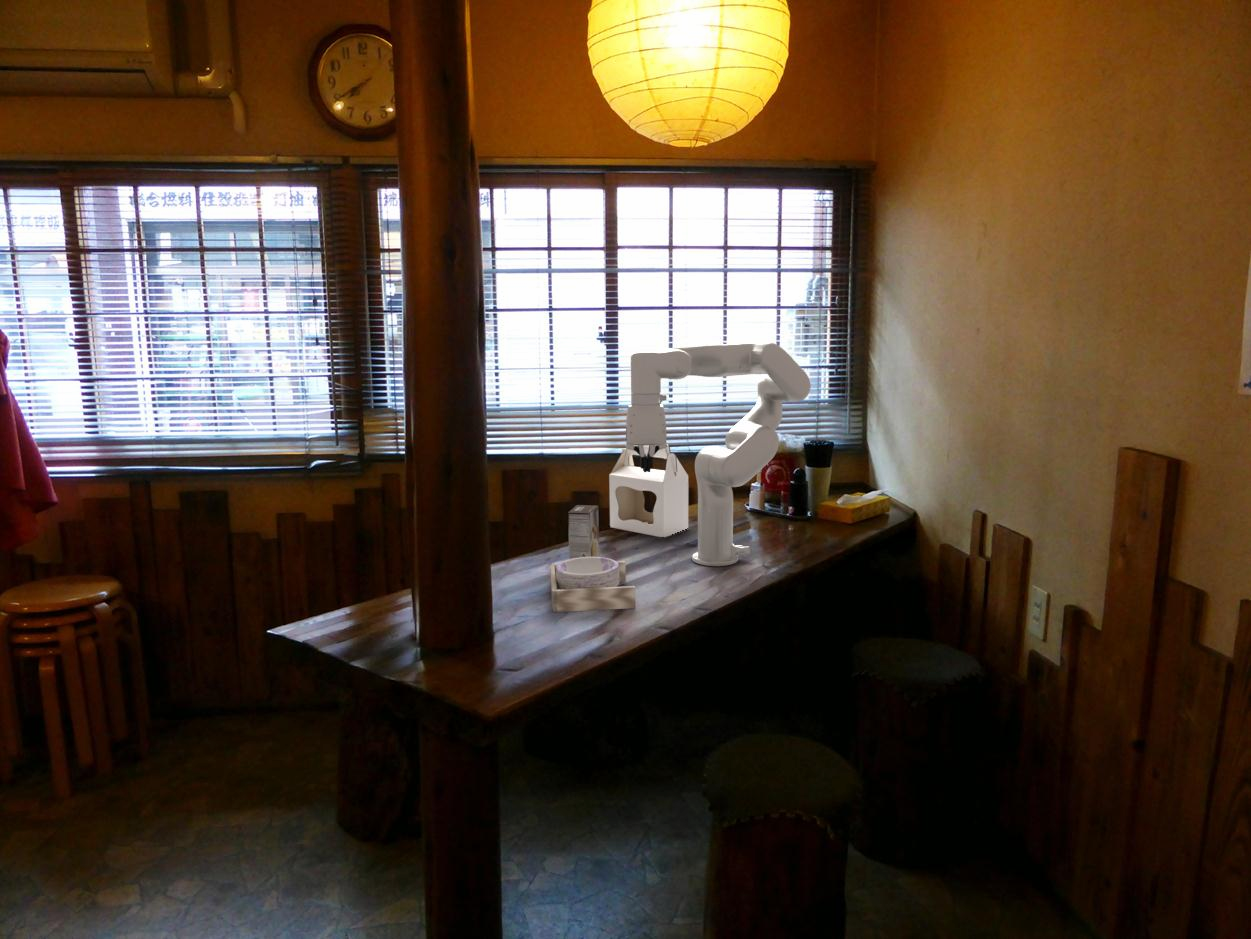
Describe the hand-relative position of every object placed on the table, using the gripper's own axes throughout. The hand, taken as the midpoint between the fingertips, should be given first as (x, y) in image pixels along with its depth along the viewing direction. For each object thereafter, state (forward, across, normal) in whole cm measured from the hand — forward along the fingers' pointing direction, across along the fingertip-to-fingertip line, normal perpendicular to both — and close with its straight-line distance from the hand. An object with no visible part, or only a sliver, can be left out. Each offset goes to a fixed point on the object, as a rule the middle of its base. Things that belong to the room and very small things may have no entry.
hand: (646, 471), depth 208 cm
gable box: (+27, -7, -46) cm, 54 cm away
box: (+27, +16, +16) cm, 35 cm away
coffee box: (+27, +16, -8) cm, 33 cm away
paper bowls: (+27, +17, +16) cm, 36 cm away
